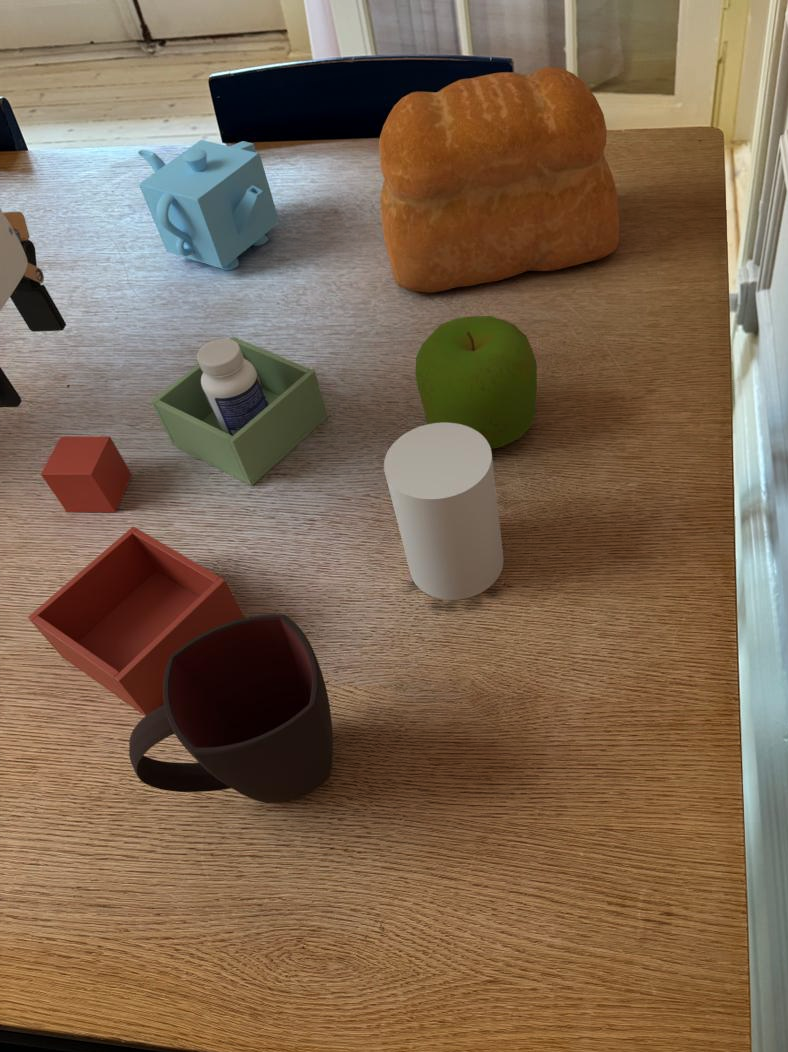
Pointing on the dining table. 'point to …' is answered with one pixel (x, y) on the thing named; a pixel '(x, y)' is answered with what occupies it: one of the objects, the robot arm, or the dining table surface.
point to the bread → (496, 180)
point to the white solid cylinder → (446, 509)
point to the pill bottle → (230, 385)
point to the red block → (87, 474)
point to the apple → (479, 377)
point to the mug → (242, 714)
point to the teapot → (210, 202)
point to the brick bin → (134, 615)
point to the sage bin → (265, 435)
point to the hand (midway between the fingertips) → (27, 365)
